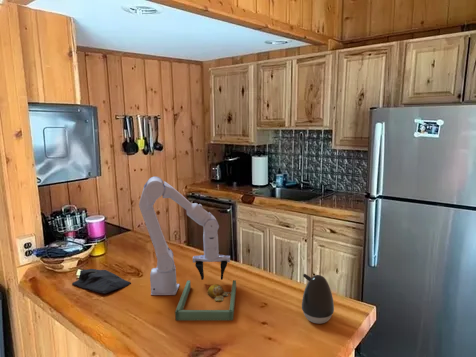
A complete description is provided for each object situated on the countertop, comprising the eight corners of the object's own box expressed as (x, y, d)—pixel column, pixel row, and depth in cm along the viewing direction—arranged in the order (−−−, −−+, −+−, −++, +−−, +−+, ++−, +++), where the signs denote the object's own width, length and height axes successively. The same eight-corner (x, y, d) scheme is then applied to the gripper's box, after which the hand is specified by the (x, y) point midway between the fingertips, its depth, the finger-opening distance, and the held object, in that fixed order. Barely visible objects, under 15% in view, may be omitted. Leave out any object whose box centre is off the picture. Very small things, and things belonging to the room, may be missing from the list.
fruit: (219, 304, 126) (219, 294, 126) (202, 297, 131) (202, 288, 130) (233, 294, 133) (233, 285, 132) (216, 288, 138) (216, 279, 137)
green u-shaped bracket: (175, 320, 117) (175, 312, 116) (187, 287, 138) (187, 280, 138) (233, 320, 116) (232, 312, 115) (236, 287, 137) (235, 280, 137)
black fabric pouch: (100, 300, 131) (98, 288, 130) (69, 284, 144) (68, 273, 143) (134, 284, 143) (133, 273, 142) (103, 270, 156) (102, 260, 155)
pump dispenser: (310, 306, 123) (310, 265, 120) (338, 317, 116) (340, 274, 113) (295, 320, 115) (295, 277, 112) (324, 332, 108) (325, 286, 105)
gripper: (230, 242, 141) (231, 273, 143) (194, 242, 142) (195, 274, 144) (229, 249, 134) (230, 282, 137) (191, 249, 135) (192, 282, 137)
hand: (212, 278), depth 140 cm, fingers open, 7 cm apart
